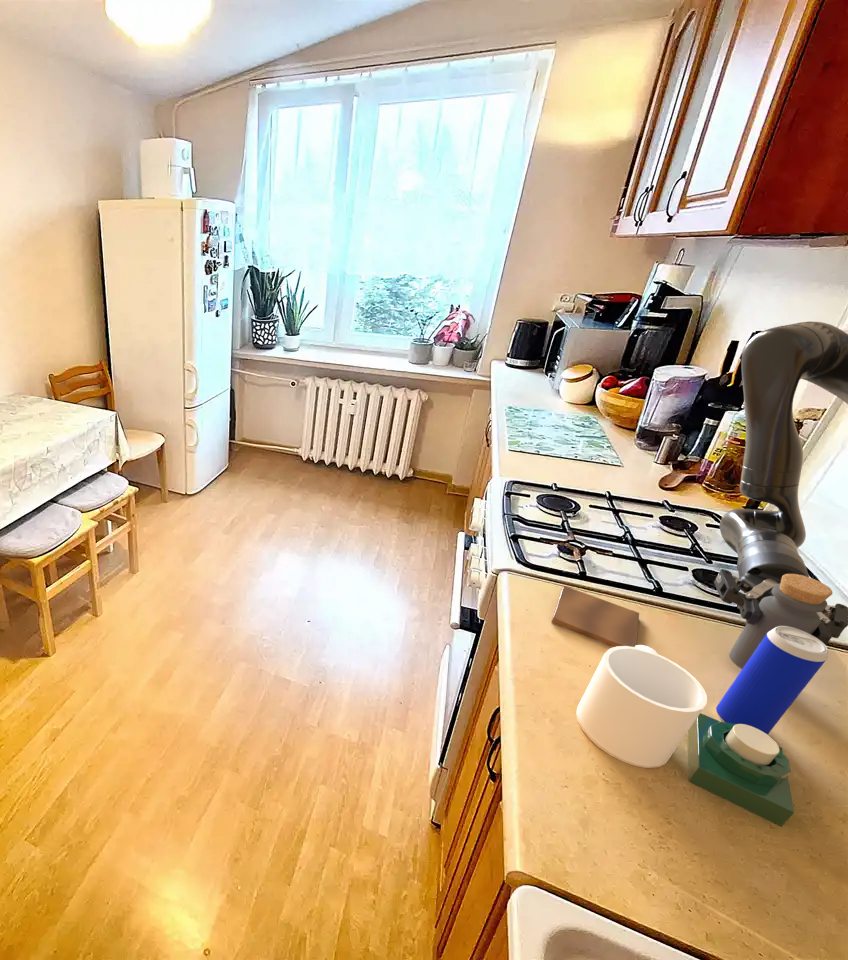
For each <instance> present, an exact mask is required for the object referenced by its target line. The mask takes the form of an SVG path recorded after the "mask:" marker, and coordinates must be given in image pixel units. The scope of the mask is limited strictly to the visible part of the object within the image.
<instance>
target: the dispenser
mask: <svg viewBox="0 0 848 960" xmlns="http://www.w3.org/2000/svg"><path fill="white" fill-rule="evenodd" d="M734 725H736V724H734V723H727V722H722V721H721V720H717V719H716V718H713V717H711V716H708V715H706V714H703V713H702V712H701V713H700V714H699V716H698V717H697V718H696V720H695V721H694V723H693V724H692V726H691V727H690V729H689V730H688V732H687V743H688V744H687V747H688V749H687V750H688V751H687V752H688V753H687V754H688V783H691V784H693V785H694V786H697V787H699V788H701V789H703V790H705V791H708V792H709V793H712V794H714V795H715V796H717V797H720V798H722V799H724V800H725V801H728V802H730V803H732V804H734V805H736V806H738V807H739V808H742V809H744V810H745V811H748V812H751V813H752V814H755V815H757V816H759V817H760V818H762V819H764V820H766V821H769V822H771V823H773V824H775V825H777V826H779V827H783V826H784V825H785V824H786V823H787V822H788V820H789V819H790V818H792V816H793V815H794V814H795V808H794V803H793V797H792V791H791V788H790V782H789V775H790V774H791V771H792V770H791V765H790V760H789V759H788V757H787V756H786V755H785V754H784V751H783V747H781V746H779V750H780V751H779V753H778V755H777V756H776V757H775V758H774V759H773V761H772V762H771V763H770V764H769V765H766V766H762V765H757V764H755V763H752V762H750V761H748V760H746V759H744V758H742V757H741V756H739V755H738V754H737V753H735V752H734V751H733V750H731V749H730V747H729V746H728V745H727V744H726V742H725V737H726V736H727V734H728V733H729V732H730V730H731V729H732V728H733V726H734Z"/></svg>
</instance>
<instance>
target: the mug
mask: <svg viewBox="0 0 848 960" xmlns="http://www.w3.org/2000/svg"><path fill="white" fill-rule="evenodd" d="M707 695H708V694H707V693H706V691H705V688H704V686H702V684H701V683H700V682H699V681H698V679H697V678H695V676H693V675H692V674H691V673H690V672H689V671H687V670H686V669H685V668H683V666H681V665H679V664H678V663H676V662H675V661H673V660H670V659H668V658H667V657H665V656H663V655H662V654H661V655H660V654H658V653H657V651H656V650H655V649H654V648H652V647H651V646H648V645H644V644H636V646H635V647H630V646H616V647H611V648H609V649H608V650H606V651H605V652H604V654H603V656H602V658H601V659H600V662H599V664H598V666H597V668H596V670H595V672H594V674H593V676H592V678H591V679H590V682H589V683H588V686H587V687H586V689H585V692H584V694H583V695H582V697H581V699H580V702H579V703H578V705H577V708H576V712H575V714H576V720H577V722H578V724H579V726H580V728H581V730H582V731H583V733H584V734H585V735H586V737H587V738H588V739H589V740H590V742H592V743H593V744H594V745H595V746H596V747H598V748H599V749H601V750H602V751H603V752H605V753H606V754H608V755H609V756H611V757H612V758H614V759H616V760H619V761H621V762H623V763H625V764H627V765H631V766H634V767H638V768H639V767H640V768H644V769H652V768H654V769H655V768H660V767H661V766H665V765H666V764H667V763H668V761H669V760H670V759H671V757H672V756H673V754H674V753H675V751H676V750H677V748H678V747H679V745H680V744H681V742H682V741H683V739H684V738H685V736H686V735H687V734H688V730H689V729H690V727H691V726H692V724H693V723H694V721H695V720H696V718H697V717H698V716H699V714H700V713H701V714H702V711H703V710H704V709H705V707H706V705H707V704H708V696H707Z"/></svg>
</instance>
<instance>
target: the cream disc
mask: <svg viewBox="0 0 848 960" xmlns="http://www.w3.org/2000/svg"><path fill="white" fill-rule="evenodd" d="M725 742H726V744H727V745H728V746H729V747H730V749H731V750H733V751H734V752H735V753H737V754H738V755H739V756H741V757H742V758H744V759H746V760H748V761H750V762H752V763H755V764H757V765H762V766H766V765H769V764H770V763H771V762H772V761H773V759H774V758H775V757H776V756H777V755H778V753H779V751H780V750H779V747H780V746H779V744H778V743H777V742H776V741H775V740H774V739H773V738H772V737H771V736H770V735H769V734H768V735H767V734H766V733H764V732H762V731H761V730H759V729H757V728H755V727H752V726H749V725H745V724H736V725H734V726H733V728H732V729H731V730H730V732H729V733H728V734H727V736H726V737H725Z"/></svg>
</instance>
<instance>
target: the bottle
mask: <svg viewBox="0 0 848 960" xmlns="http://www.w3.org/2000/svg"><path fill="white" fill-rule="evenodd" d="M771 592H772V594H773V596H768V597H764V598H763V599H762V600H761V601H760V603H759V607H760V611H761V615H760V617H759V618H758V620H757V622H756V623H755V624H754V625H751V624H748V623H746V625H745V626H744V627H743V629H742V631H741V632H740V634H739V636H738V637H737V639H736V641H735V643H734V644H733V645H732V648H731V649H730V651H729V654H728V656H729V659H730V660H731V662H732V663H733V664H734V665H736V666H737V667H738V668H739V669H741V670H742V669H743V668H744V666H745V665H746V663H747V662H748V660H749V659H750V657H751V656H752V654H753V653H754V652H755V650H756V649H757V647H758V646H759V644H760V643H761V641H762V640H763V638H764V637H765V636H766V634H767V633H768V632H769V631H770V630H772V629H774V628H775V627H778V626H787V627H792V628H796V629H799V630H802V631H804V632H806V633H808V634H810V635H812V634H813V633H814V631H815V630H816V628H817V627H818V625H819V624H820V622H821V619H820V617H819V615H818V614H817V613H816V612H822V611H824V609H825V608H826V606H827V605H828V601H827V599H828V598H830V597H831V596H832V595H833V590H832V589H831V587H829V586H828V585H826V584H825V583H824V582H821V581H820V580H817V579H815V578H813V577H810V576H809V577H806V576H803V575H798V574H785V575H783V576H782V579H781V583H780V584H776V585H775V586H774V587H773V589H772V591H771Z"/></svg>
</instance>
